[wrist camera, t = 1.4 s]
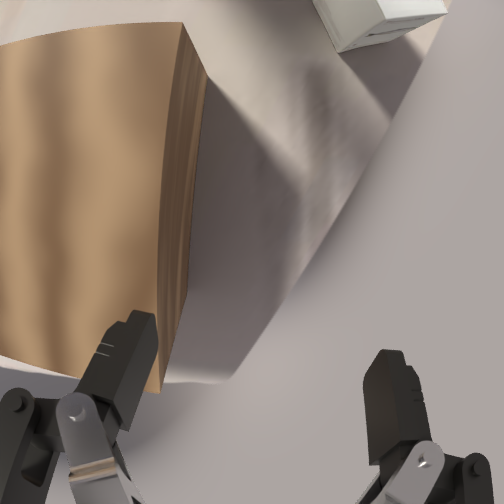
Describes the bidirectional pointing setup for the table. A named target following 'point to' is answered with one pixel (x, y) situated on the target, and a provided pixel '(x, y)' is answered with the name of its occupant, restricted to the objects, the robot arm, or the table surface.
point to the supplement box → (374, 19)
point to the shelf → (96, 188)
